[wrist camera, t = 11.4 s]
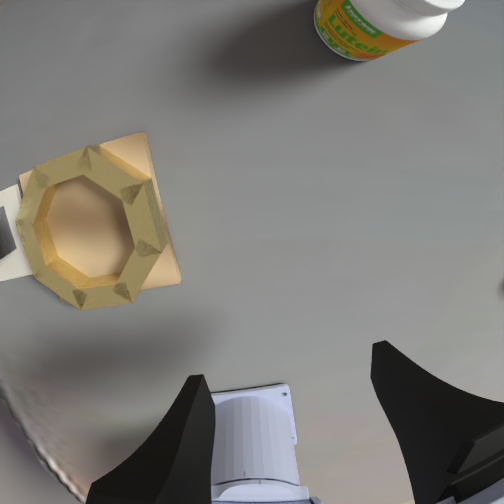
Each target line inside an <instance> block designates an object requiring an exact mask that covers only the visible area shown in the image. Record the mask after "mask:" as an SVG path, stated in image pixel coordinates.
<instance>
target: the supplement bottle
mask: <svg viewBox="0 0 504 504" xmlns="http://www.w3.org/2000/svg"><path fill="white" fill-rule="evenodd" d="M464 1H465V0H319V1H318V3H317V5H316V7H315V10H314V24H315V28H316V30H317V33H318V35H319V36H320V38H321V39H322V41H323V42H324V43H325V44H326V45H327V46H328V47H329V48H330V49H331V50H332V51H334V52H335V53H337V54H339V55H341V56H343V57H345V58H348V59H351V60H356V61H369V60H373V59H376V58H379V57H381V56H383V55H386V54H388V53H390V52H392V51H395V50H397V49H399V48H402V47H404V46H407V45H409V44H412V43H414V42H417V41H419V40H422V39H425V38H427V37H429V36H431V35H433V34H435V33H436V32H437V31H438V30H440V28H441V27H442V26H443V24H444V22H445V20H446V17H447V13H448V12H450V11H452V10H454V9H456V8H458V7H460V6H461V5H462V4H463V2H464Z"/></svg>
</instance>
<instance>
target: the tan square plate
mask: <svg viewBox="0 0 504 504" xmlns="http://www.w3.org/2000/svg"><path fill="white" fill-rule="evenodd" d="M100 146H102V147H103V148H105V149H107V150H108V151H110V152H111V153H113V154H114V155H116V156H118V157H119V158H121V159H122V160H124V161H125V162H127V163H129V164H130V165H132V166H133V167H135V168H136V169H138V170H140V171H141V172H143V173H144V174H146V175H147V176H149V177H151V178H152V181H153V185H154V189H155V194H156V198H157V202H158V206H159V210H160V214H161V218H162V222H163V225H164V229H165V233H166V237H167V241H168V244H167V245H166V247H165V249H164V250H163V252H162V253H161V255H160V256H159V258H158V260H157V261H156V263H155V265H154V266H153V268H152V270H151V272H150V273H149V275H148V277H147V278H146V280H145V282H144V283H143V285H142V287H141V289H140V290H142V289H149V288H155V287H161V286H167V285H173V284H179V283H180V281H181V274H180V271H179V267H178V264H177V260H176V257H175V253H174V249H173V246H172V242H171V238H170V234H169V231H168V227H167V223H166V219H165V215H164V211H163V207H162V203H161V199H160V195H159V191H158V186H157V182H156V178H155V173H154V169H153V164H152V160H151V155H150V151H149V146H148V141H147V136H146V132H139V133H135V134H132V135H129V136H125V137H122V138H119V139H115V140H112V141H109V142H106V143H103V144H100ZM31 173H32V170H31V171H28V172H26V173H24V174H22V175H19V179H20V183H21V187H22V191H23V195H24V192H25V189H26V186H27V184H28V181H29V178H30V175H31ZM46 220H47V223H48V226H49V230H50V233H51V236H52V239H53V242H54V245H55V248H56V251H57V254H58V256H59V257H60V258H62V259H63V260H64V261H66V262H67V263H69V264H70V265H72V266H73V267H75V268H76V269H77V270H79V271H80V272H82V273H83V274H85V275H86V276H88V277H89V278H92V277H98V276H103V275H109V274H115V273H120V272H122V271H123V270H124V268H125V266H126V264H127V262H128V260H129V258H130V256H131V255H132V253H133V251H134V249H135V244H134V241H133V238H132V234H131V231H130V227H129V224H128V220H127V217H126V213H125V209H124V205H123V202H122V200H121V199H120V198H118V197H117V196H115V195H114V194H112V193H111V192H109V191H108V190H106V189H105V188H103V187H101V186H100V185H98V184H97V183H95V182H94V181H92V180H91V179H89V178H88V177H86V176H85V175H80V176H77V177H74V178H71V179H68V180H65V181H63V182H60V184H59V186H58V188H57V191H56V193H55V196H54V198H53V201H52V203H51V206H50V208H49V211H48V214H47V216H46ZM57 295H58V294H57ZM58 297H59V299H60V302H64V301H66V300H65V299H63V298H62V297H61V296H59V295H58Z"/></svg>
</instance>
